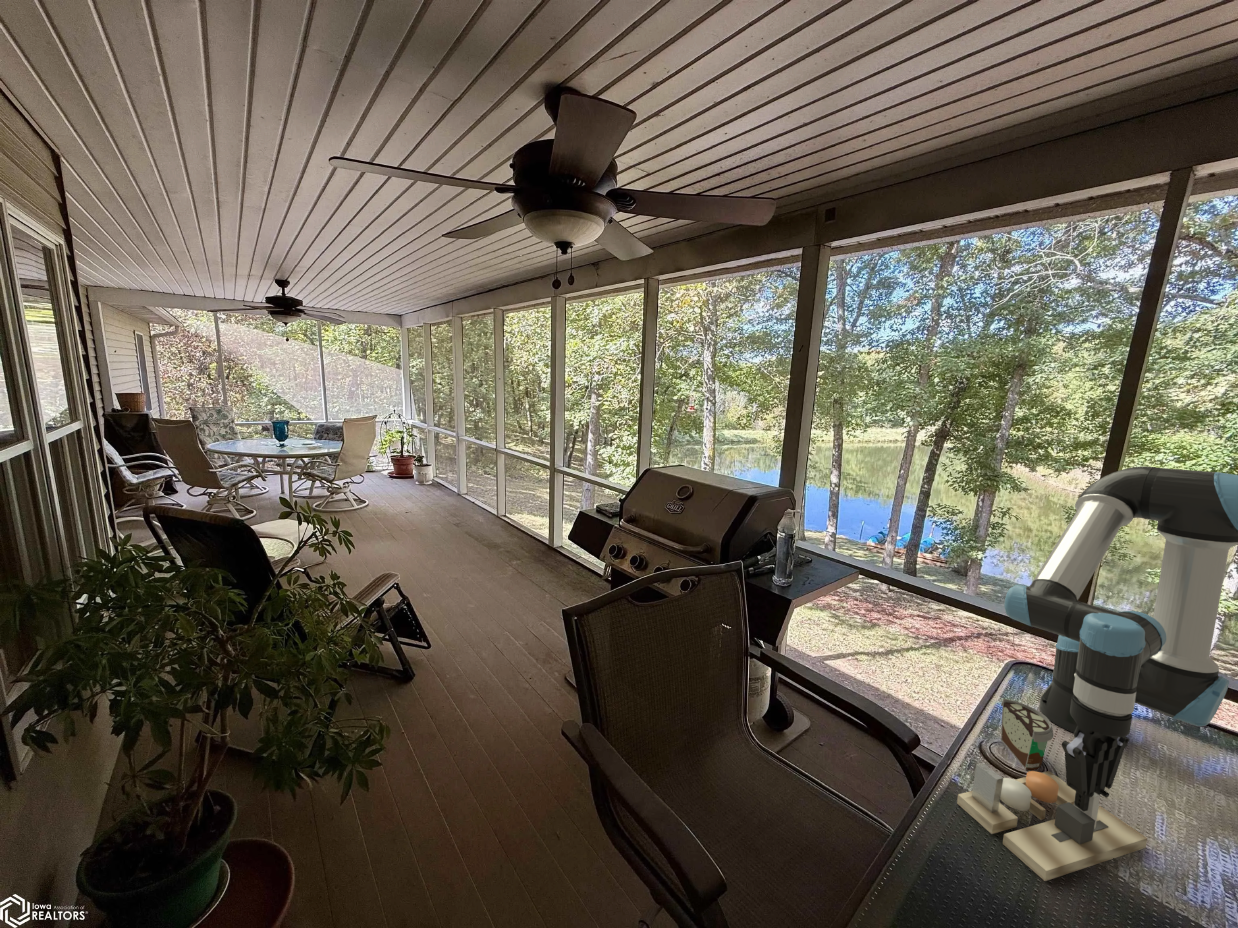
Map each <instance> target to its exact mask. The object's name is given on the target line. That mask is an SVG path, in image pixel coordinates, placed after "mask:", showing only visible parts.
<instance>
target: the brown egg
mask: <svg viewBox="0 0 1238 928" xmlns="http://www.w3.org/2000/svg"><path fill="white" fill-rule="evenodd" d="M1025 777H1026V784H1025V786H1027V787H1028V788H1029V790H1030V791H1031V797H1033V798H1035V799H1036V800H1038V801H1041V802H1043V803H1047V804H1056V803H1055V802H1056V801H1057V797H1058V790H1059V785H1058V784H1057V782H1056V781H1055V780H1054V779H1052V778H1051V777H1049V776H1047V775H1045V774H1043V772H1040V771H1037V770H1032V771H1029V770H1028V771H1027V772H1026V776H1025Z"/></svg>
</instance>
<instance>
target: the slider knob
mask: <svg viewBox="0 0 1238 928" xmlns="http://www.w3.org/2000/svg"><path fill="white" fill-rule="evenodd" d="M1054 819H1055V824H1054V825H1055V826H1057V827H1058V828H1059V829H1060V830H1062V831H1063V832H1064V833H1066V834H1067V835H1068V836H1070V837H1071V838H1072V839H1073V840H1075V841H1076V842H1077V843H1079V844H1082V843H1085V842H1089V841H1092V838H1093V832H1094V825H1095V820H1094V819H1092V818H1091V817H1090V816H1088V815H1087V814H1085V813H1084V812H1082V811H1081V810H1080V809H1078V808H1077V807H1075V806H1074V805H1073V804H1071V803H1070V802H1068V803H1064V804H1061V805H1057V804H1056V812H1055V817H1054Z"/></svg>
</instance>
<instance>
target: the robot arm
mask: <svg viewBox="0 0 1238 928" xmlns="http://www.w3.org/2000/svg"><path fill="white" fill-rule="evenodd" d="M1074 508H1075V510H1076V512H1075V514H1073V517H1072V519H1071V520H1070V521H1069V523H1068V525H1067V527H1066V528H1065V529H1064V531H1063V533H1062V534H1061V536H1060V537H1059V539H1058V540H1057V542H1056V543H1055V545H1054V547H1053V548H1052V550H1051V552H1050V553H1049V555H1048V556H1047V558H1046V560H1045V561H1044V562H1043V564H1042V565H1041V567H1040V569H1039V571H1038V572H1037V574H1036V575H1035V577H1034V579H1033V580H1032V582H1031V584H1030V585H1029V586H1027V585H1022V584H1015V585H1013V586H1011V587H1010V588H1009V589H1008V590H1007V592H1006V595H1005V599H1004V603H1003V605H1004V610H1005V613H1006V614H1005V615H1007V617H1009V618H1010V619H1012V620H1014V621H1017V622H1020V623H1022V624H1024V625H1027V626H1029V627H1032V628H1033V627H1034V628H1037V629H1040V630H1043V631H1046V632H1048V633H1052V634H1055V635H1058V638H1057V642H1056V643H1055V653H1054V655H1055V656H1054V664H1053V672H1052V679H1051V682H1050V684H1049V685H1048V686H1047V688H1046V690H1045V691H1044V692H1043V694H1042V695H1041V697H1040V700H1039V705H1038V708H1039V712H1040V713H1042V714H1043V715H1044V716H1046V717H1047V719H1048V720H1049V721H1050V722H1052V723H1053V724H1055V725H1057V726H1058V727H1060V728H1062V729H1064V730H1066V731H1067V732H1070V733H1073V737H1074V739H1073V740H1072V741H1070V742H1068V741H1067V740H1063V741H1062V743H1061V748H1062V750H1063V752H1064V764H1065V765H1064V766H1065V778H1066V779H1065V780H1066V781H1065V782H1066V783H1067V785H1068V786H1069V787H1070V788H1072V789H1073V790H1075V791H1076V793H1075V800H1074V806H1075V807H1077V808H1078V809H1080V810H1081V811H1082V812H1084V813H1085V814H1087V815H1088V816H1090V817H1091V818H1092V819H1094V820H1095V825H1094V828H1095V827H1096V821H1097V814H1098V808H1099V806H1100V800H1101V796H1102V797H1104V798H1108V797H1109V796H1110V793H1109V792H1107V791H1106V789H1107V790H1110V789H1112V787H1113V784H1114V781H1115V779H1116V775H1117V772H1118V770H1119V766H1120V763H1121V760H1122V757H1123V755H1124V751H1125V749H1126V747H1127V746H1128V745H1129V743H1130V738H1128V737H1127V736H1128V735H1130V733H1131V727H1132V722H1133V721H1132V720H1133V713H1134V711H1135V705H1136V704H1138V705H1139V706H1142V707H1144V708H1147V709H1149V710H1152V711H1154V712H1157V713H1159V714H1162V715H1165V716H1167V717H1170V718H1171V719H1172V720H1173V719H1174V720H1179V721H1180V722H1184V723H1187V724H1189V725H1192V726H1194V727H1195V726H1196V727H1205V726H1207V725H1209V724H1210V723H1211V721H1212V720H1213V718H1214V717H1215V715H1216V714H1217V712H1218V711H1219V708H1220V706H1221V704H1222V702H1223V700H1224V698H1225V696H1226V694H1227V692H1228V688H1229V684H1230V681H1229V679H1227V678H1226V677H1224V676H1222V675H1219V671H1220V667H1219V665H1218V664H1217V662H1215V661H1214V660H1213V659H1212V658H1211V657H1210V656H1211V655H1210V654H1211V649H1212V646H1213V645H1212V643H1213V638H1214V635H1215V634H1214V633H1215V628H1216V624H1217V623H1216V622H1217V617H1218V611H1219V605H1220V601H1221V595H1222V589H1223V582H1224V578H1225V573H1226V568H1227V567H1226V566H1227V562H1228V557H1229V556H1228V555H1229V550H1231V548H1234V547H1237V546H1238V474H1233V473H1224V472H1219V471H1205V470H1192V469H1178V468H1169V467H1167V468H1165V467H1156V466H1133V467H1128V468H1123V469H1120V470H1117V471H1114V472H1111V473H1110V474H1107V475H1104V476H1103V477H1101V478H1099V479H1097V480H1095V481H1094V482H1093V483H1091V484H1090V485H1089V486H1088V487H1086V488H1085V489H1084V490H1083V491H1082V492H1081V494H1080V495H1079V497H1078V498H1077V500H1076V501H1075V505H1074ZM1133 519H1144V520H1149V521H1150V520H1151V521H1156V522H1157V525H1156V526H1157V527H1156V531H1157V532H1158V533H1159V534H1160V535H1161V536H1162V537H1163V538H1164V539H1165V542H1164V548H1163V549H1164V550H1163V555H1162V560H1161V568H1160V574H1159V579H1158V586H1157V593H1156V598H1155V604H1154V610H1153V614H1152V615H1153V616H1151V615H1149V614H1147V613H1144V612H1141V611H1138V610H1124V611H1118V612H1117V611H1115V610H1110V609H1107V608H1105V607H1104V608H1103V607H1100V606H1096V605H1093V604H1089V603H1087V602H1081V601H1079V599H1080V598H1081V596H1082V594H1083V592H1084V590H1085V589H1086V587H1087V585H1088V583H1089V581H1090V580H1091V579H1092V577H1093V575H1094V573H1095V571H1096V570H1097V568H1098V566H1099V565H1100V563H1101V562H1102V560H1103V558H1104V556H1105V555H1106V553H1107V551H1108V549H1109V547H1110V546H1111V544H1112V543H1113V541H1114V539H1115V537H1116V536H1117V534H1118V532H1119V531H1120V530H1121V527H1122V528H1123V527H1125V526H1128V525H1129V524H1130V523H1131V522H1132V521H1133Z"/></svg>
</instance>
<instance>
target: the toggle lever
mask: <svg viewBox="0 0 1238 928" xmlns="http://www.w3.org/2000/svg"><path fill="white" fill-rule="evenodd" d="M975 765H976V766H975V771H974V778H973V779H974V780H973V785H972V790H971V791H972V797H973V798H974V799H976V800H977V801H978V802H979V803H980V804H982V805H983V806H984V807H985V808H986V809H988V810H989V811H990V812H991V813H993V812H997V811H998V808H999V803H1001V802H1000V801H1001V799H1000V796H1001V790H1002V784H1003V778H1004V777H1003V776H1001V774H999V773H997V772H996V771H994V770H993V769H992V768H990V767H989V766H988V765H987V764H986V763H984V762H981V763H976V764H975Z"/></svg>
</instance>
